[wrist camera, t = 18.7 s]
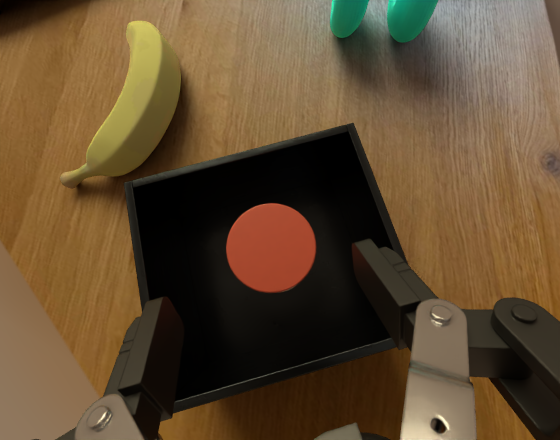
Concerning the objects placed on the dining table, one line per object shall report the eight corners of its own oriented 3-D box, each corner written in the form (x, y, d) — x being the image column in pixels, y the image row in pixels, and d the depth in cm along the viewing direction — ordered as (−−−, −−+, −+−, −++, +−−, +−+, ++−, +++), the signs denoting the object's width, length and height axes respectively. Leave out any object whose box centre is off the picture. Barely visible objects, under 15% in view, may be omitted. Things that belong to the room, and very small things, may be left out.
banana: (195, 26, 26) (62, 202, 24) (224, 72, 31) (115, 219, 29) (119, 0, 31) (7, 142, 30) (154, 43, 36) (60, 165, 35)
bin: (205, 370, 25) (156, 418, 16) (176, 216, 29) (123, 182, 20) (382, 318, 26) (435, 335, 17) (332, 174, 30) (353, 122, 20)
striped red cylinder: (258, 298, 26) (235, 306, 14) (246, 245, 27) (215, 214, 16) (311, 283, 26) (330, 280, 15) (296, 232, 28) (303, 191, 16)
